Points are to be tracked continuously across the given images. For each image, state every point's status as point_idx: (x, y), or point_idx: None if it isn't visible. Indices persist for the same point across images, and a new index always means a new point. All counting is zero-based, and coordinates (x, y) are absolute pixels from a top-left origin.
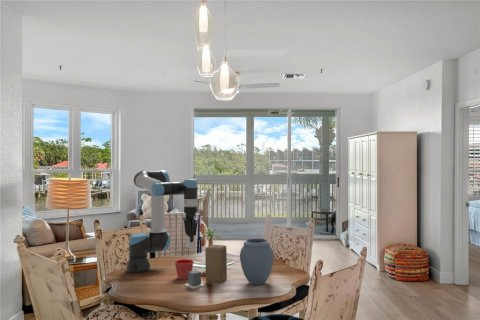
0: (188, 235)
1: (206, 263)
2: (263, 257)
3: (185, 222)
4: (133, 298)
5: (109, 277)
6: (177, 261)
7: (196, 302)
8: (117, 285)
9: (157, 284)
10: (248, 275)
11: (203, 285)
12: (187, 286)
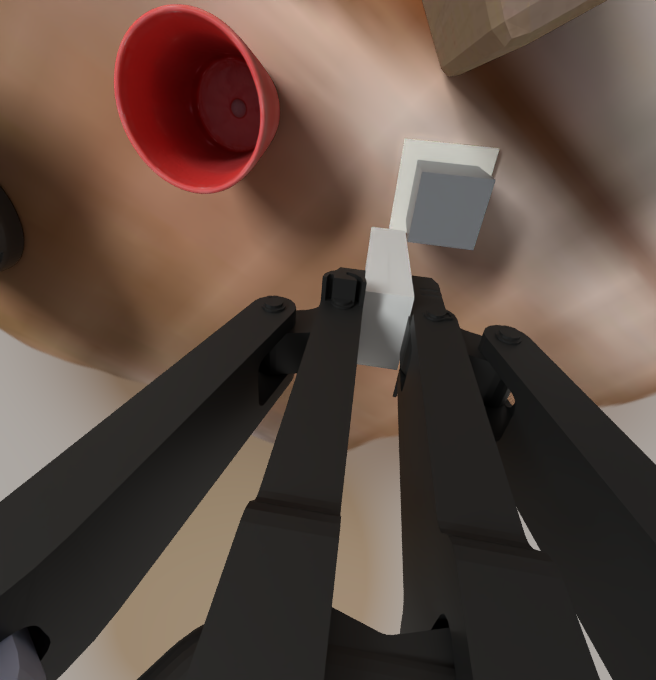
0: (395, 396)
1: (483, 63)
2: None
3: (132, 584)
4: (364, 443)
5: (55, 356)
6: (138, 136)
7: (630, 362)
8: None
9: None
10: None
11: (495, 159)
12: None
